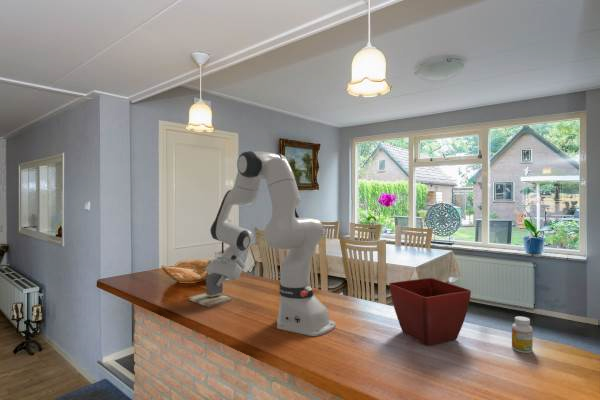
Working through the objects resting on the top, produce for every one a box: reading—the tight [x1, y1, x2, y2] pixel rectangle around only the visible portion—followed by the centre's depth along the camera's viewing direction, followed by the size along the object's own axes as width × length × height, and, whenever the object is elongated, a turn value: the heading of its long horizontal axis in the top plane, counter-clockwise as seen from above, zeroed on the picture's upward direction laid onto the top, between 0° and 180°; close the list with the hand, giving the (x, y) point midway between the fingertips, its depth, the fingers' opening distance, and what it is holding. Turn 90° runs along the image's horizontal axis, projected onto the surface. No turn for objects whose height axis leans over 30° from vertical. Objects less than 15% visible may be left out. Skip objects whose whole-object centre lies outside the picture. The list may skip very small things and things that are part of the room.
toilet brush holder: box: [214, 241, 229, 282], centre depth 196 cm, size 11×11×30 cm
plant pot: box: [388, 277, 472, 346], centre depth 119 cm, size 19×19×17 cm
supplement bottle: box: [511, 315, 534, 354], centre depth 109 cm, size 5×5×10 cm
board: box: [187, 292, 233, 308], centre depth 160 cm, size 16×12×1 cm
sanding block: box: [205, 274, 224, 297], centre depth 161 cm, size 4×6×9 cm
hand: (213, 284), depth 160 cm, fingers closed on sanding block, 4 cm apart
